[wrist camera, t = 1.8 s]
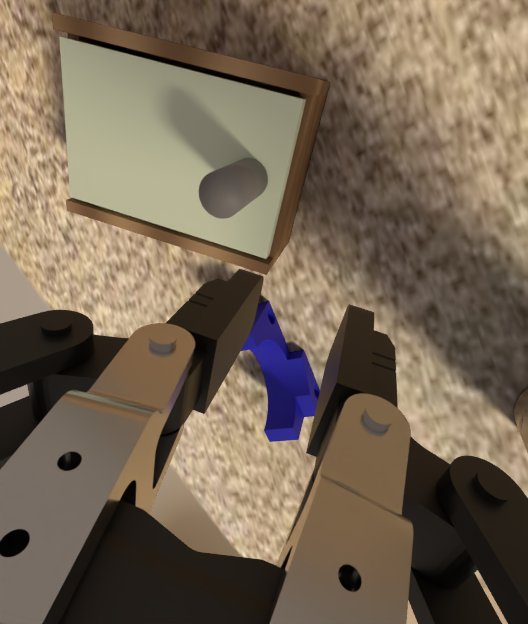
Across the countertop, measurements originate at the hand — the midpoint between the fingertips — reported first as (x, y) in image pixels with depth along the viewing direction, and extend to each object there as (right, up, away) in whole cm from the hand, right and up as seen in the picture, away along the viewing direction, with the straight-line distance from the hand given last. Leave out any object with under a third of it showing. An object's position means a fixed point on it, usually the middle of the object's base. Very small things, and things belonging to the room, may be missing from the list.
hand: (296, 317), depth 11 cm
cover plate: (-7, +11, +14) cm, 19 cm away
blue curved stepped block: (+1, -4, +27) cm, 28 cm away
